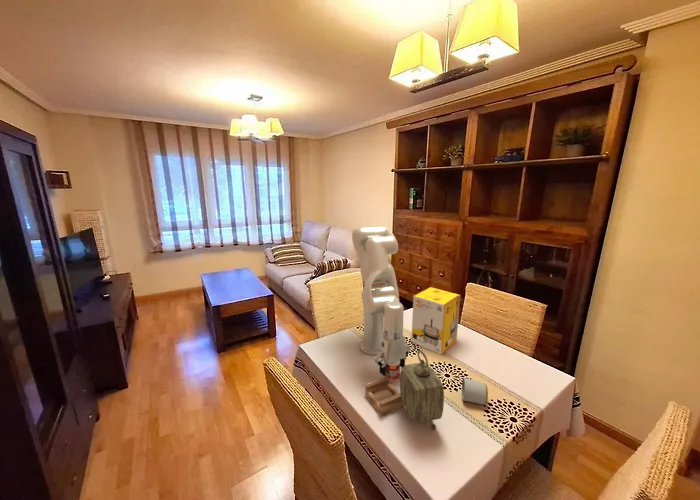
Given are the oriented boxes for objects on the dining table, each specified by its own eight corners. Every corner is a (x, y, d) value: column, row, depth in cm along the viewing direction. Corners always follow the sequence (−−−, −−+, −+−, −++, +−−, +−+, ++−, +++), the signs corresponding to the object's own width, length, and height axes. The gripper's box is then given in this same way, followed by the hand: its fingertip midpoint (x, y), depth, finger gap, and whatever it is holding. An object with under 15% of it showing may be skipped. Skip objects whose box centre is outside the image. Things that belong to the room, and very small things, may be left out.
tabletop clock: (441, 433, 90) (446, 364, 84) (415, 438, 88) (418, 368, 83) (421, 400, 104) (424, 339, 98) (398, 404, 102) (400, 342, 96)
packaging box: (456, 341, 143) (460, 294, 137) (441, 354, 131) (444, 305, 126) (427, 330, 154) (430, 287, 148) (411, 341, 143) (413, 295, 137)
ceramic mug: (487, 409, 99) (489, 390, 98) (462, 405, 101) (464, 386, 100) (482, 389, 109) (484, 372, 107) (460, 385, 111) (461, 368, 110)
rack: (365, 395, 106) (365, 384, 105) (387, 386, 111) (387, 376, 110) (381, 416, 97) (382, 404, 96) (404, 405, 102) (405, 394, 100)
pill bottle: (389, 384, 112) (390, 359, 110) (381, 375, 118) (382, 351, 115) (402, 379, 115) (403, 355, 112) (394, 371, 120) (394, 347, 118)
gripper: (380, 342, 104) (379, 382, 108) (416, 331, 112) (414, 369, 116) (369, 333, 111) (369, 371, 115) (404, 323, 119) (403, 359, 123)
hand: (392, 370), depth 115 cm, fingers open, 9 cm apart
